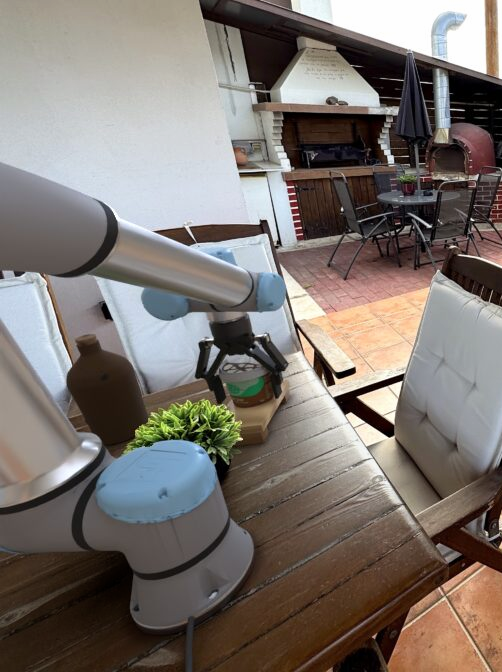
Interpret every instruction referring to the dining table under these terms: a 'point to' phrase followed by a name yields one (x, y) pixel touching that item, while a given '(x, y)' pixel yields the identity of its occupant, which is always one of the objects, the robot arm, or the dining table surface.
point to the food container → (246, 383)
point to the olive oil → (106, 392)
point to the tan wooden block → (258, 417)
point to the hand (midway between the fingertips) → (250, 398)
